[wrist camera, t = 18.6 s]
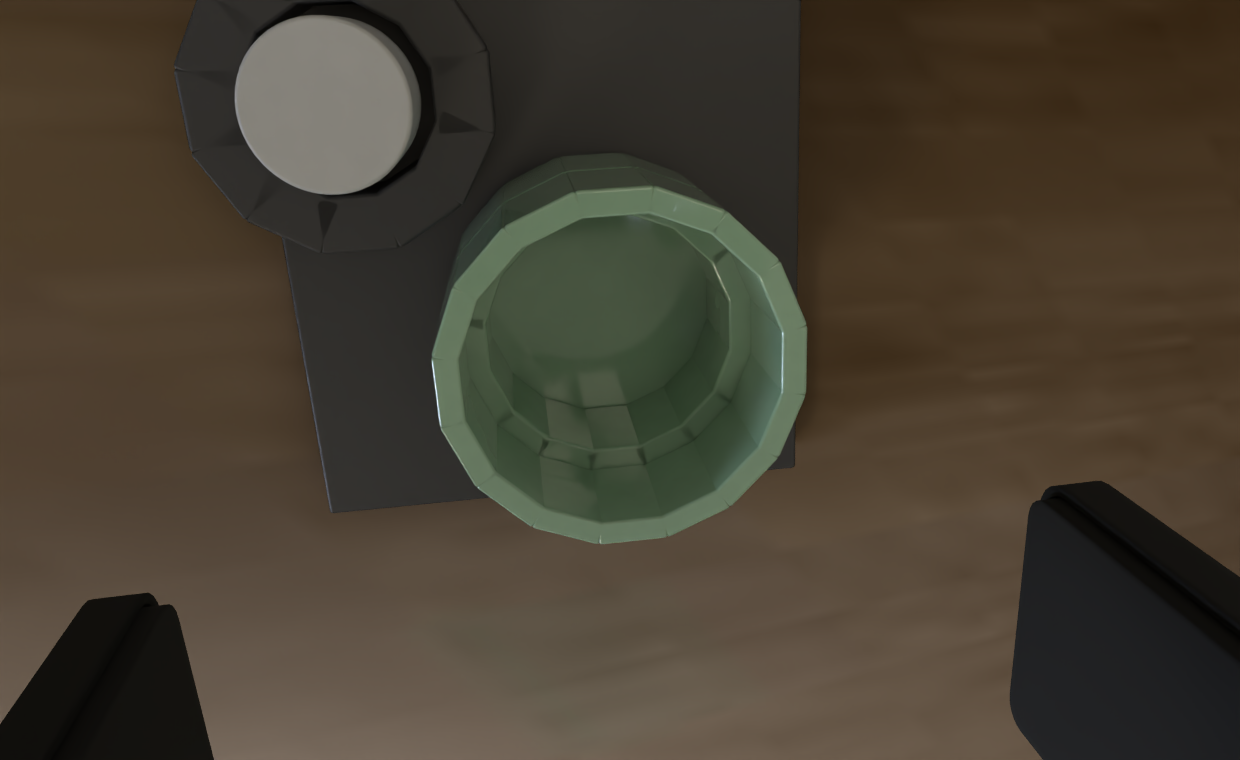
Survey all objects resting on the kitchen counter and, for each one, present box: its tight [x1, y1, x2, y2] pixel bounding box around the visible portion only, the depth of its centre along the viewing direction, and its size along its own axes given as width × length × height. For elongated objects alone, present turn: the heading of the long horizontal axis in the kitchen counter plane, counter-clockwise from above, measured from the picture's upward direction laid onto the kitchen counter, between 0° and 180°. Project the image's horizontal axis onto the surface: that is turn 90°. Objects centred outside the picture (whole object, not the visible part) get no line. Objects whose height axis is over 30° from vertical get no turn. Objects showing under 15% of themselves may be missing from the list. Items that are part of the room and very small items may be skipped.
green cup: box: [431, 152, 807, 544], centre depth 20 cm, size 7×7×6 cm
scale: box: [174, 0, 801, 513], centre depth 22 cm, size 13×13×3 cm
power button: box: [235, 15, 421, 195], centre depth 19 cm, size 3×3×2 cm
